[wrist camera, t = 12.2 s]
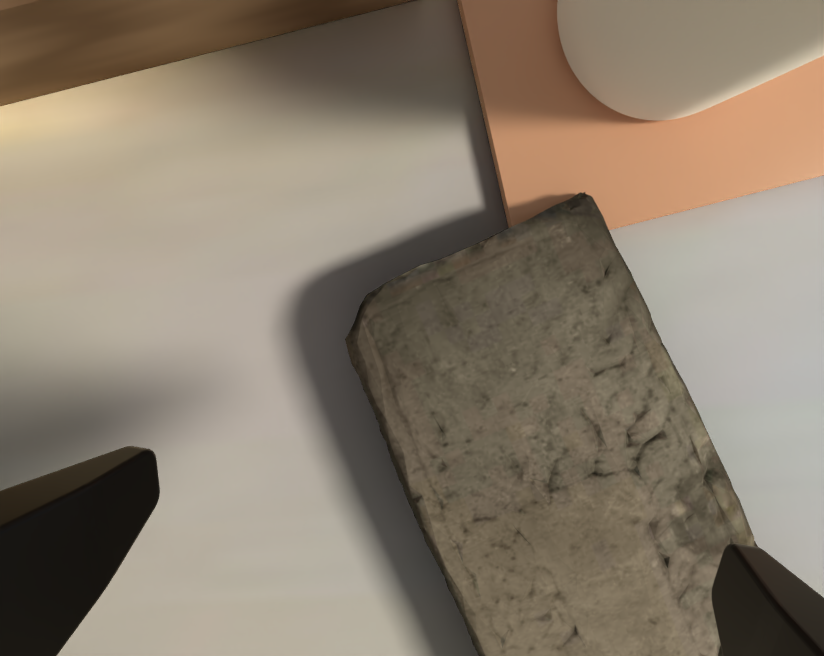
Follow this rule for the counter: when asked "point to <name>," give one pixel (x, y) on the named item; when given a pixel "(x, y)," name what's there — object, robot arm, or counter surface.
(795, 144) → the tile
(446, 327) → the stone slab
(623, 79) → the can
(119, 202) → the counter surface
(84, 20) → the rack
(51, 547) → the robot arm
